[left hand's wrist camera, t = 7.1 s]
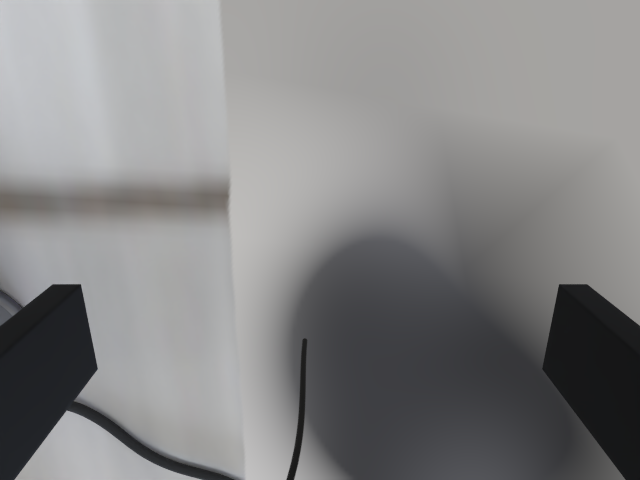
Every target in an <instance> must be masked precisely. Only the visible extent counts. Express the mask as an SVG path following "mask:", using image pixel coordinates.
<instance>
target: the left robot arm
mask: <svg viewBox="0 0 640 480" xmlns="http://www.w3.org/2000/svg"><path fill="white" fill-rule="evenodd" d="M306 355H307V339H306V338H304V339H303V340H302V351H301V369H300V397H299V414H298V425H297V433H296V440H295V446H294V451H293V456H292V460H291V464H290V468H289V472H288V475H287V479H286V480H294V479H295V475H296V471H297V467H298V462H299V457H300V452H301V446H302V439H303V431H304V419H305V399H306ZM97 369H98V368H97V363H96V358H95V353H94V348H93V343H92V338H91V333H90V328H89V323H88V318H87V313H86V308H85V303H84V298H83V293H82V288H81V284H53V285H52V286H50V287H49V288H48V289H47V290H45V291H44V292H43V293H41V294H40V295H39V296H38V297H36V298H35V299H34V300H33V301H31V302H30V303H29V304H27V305H26V306H25V307H24V308H21V307H20V306H19V305H18V304H17V303H16V302H15V301H14V300H13V299H12V298H10V297H9V296H8V295H6V294H5V293H3V292H2V291H0V480H14V479H15V478H16V477H17V475H18V474H19V473H20V471H21V470H22V469H23V467H24V466H25V465H26V463H27V462H28V461H29V460H30V458H31V457H32V456H33V454H34V453H35V452H36V450H37V449H38V448H39V446H40V445H41V444H42V442H43V441H44V440H45V438H46V437H47V436H48V434H49V433H50V432H51V430H52V429H53V428H54V426H55V425H56V424H57V422H58V421H59V420H60V418H61V417H62V416H63V414H64V413H65V412H66V410H67V411H71V412H74V413H77V414H79V415H81V416H84V417H85V418H87V419H89V420H91V421H93V422H95V423H96V424H98V425H99V426H101V427H102V428H104V429H105V430H107V431H108V432H109V433H111V434H112V435H113V436H115V437H116V438H117V439H118V440H120V441H121V442H122V443H124V444H125V445H126V446H127V447H129V448H130V449H132V450H133V451H134V452H136V453H137V454H139V455H140V456H142V457H144V458H145V459H147V460H149V461H151V462H153V463H154V464H157V465H159V466H161V467H163V468H166V469H168V470H171V471H174V472H177V473H180V474H183V475H187V476H191V477H194V478H198V479H202V480H234V479H231V478H229V477H226V476H223V475H221V474H217V473H214V472H211V471H207V470H203V469H199V468H196V467H192V466H188V465H185V464H182V463H179V462H176V461H173V460H170V459H168V458H166V457H164V456H161V455H159V454H157V453H155V452H154V451H152V450H150V449H149V448H147V447H145V446H144V445H142V444H141V443H139V442H138V441H137V440H135V439H134V438H133V437H131V436H130V435H129V434H128V433H126V432H125V431H124V430H123V429H121V428H120V427H119V426H118V425H116V424H115V423H114V422H112V421H111V420H109V419H108V418H106V417H105V416H103V415H102V414H100V413H98V412H97V411H95V410H93V409H91V408H89V407H87V406H85V405H82V404H80V403H77V402H74V400H75V398H76V397H77V396H78V394H79V393H80V392H81V391H82V389H83V388H84V387H85V385H86V384H87V383H88V381H89V380H90V379H91V377H92V376H93V375H94V373H95V372H96V371H97ZM542 369H543V371H544V372H545V373H546V375H547V376H548V377H549V379H550V380H551V381H552V383H553V384H554V385H555V386H556V388H557V389H558V391H559V392H560V393H561V395H562V396H563V397H564V398H565V400H566V401H567V402H568V404H569V405H570V406H571V408H572V409H573V410H574V412H575V413H576V414H577V416H578V417H579V418H580V420H581V421H582V422H583V424H584V425H585V426H586V428H587V429H588V430H589V431H590V433H591V434H592V436H593V437H594V438H595V440H596V441H597V442H598V444H599V445H600V446H601V448H602V449H603V450H604V452H605V453H606V454H607V456H608V457H609V458H610V459H611V461H612V462H613V463H614V465H615V466H616V467H617V469H618V470H619V471H620V473H621V474H622V475H623V477H624V478H625V479H626V480H640V326H639V325H638V324H637V323H635V322H634V321H633V320H632V319H630V318H629V317H628V316H626V315H625V314H624V313H623V312H621V311H620V310H619V309H618V308H616V307H615V306H614V305H613V304H611V303H610V302H609V301H607V300H606V299H605V298H604V297H602V296H601V295H600V294H598V293H597V292H596V291H595V290H593V289H592V288H591V287H590V286H588V285H587V284H560V285H559V288H558V293H557V298H556V303H555V308H554V313H553V318H552V323H551V328H550V333H549V338H548V343H547V348H546V353H545V358H544V363H543V368H542Z"/></svg>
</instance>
